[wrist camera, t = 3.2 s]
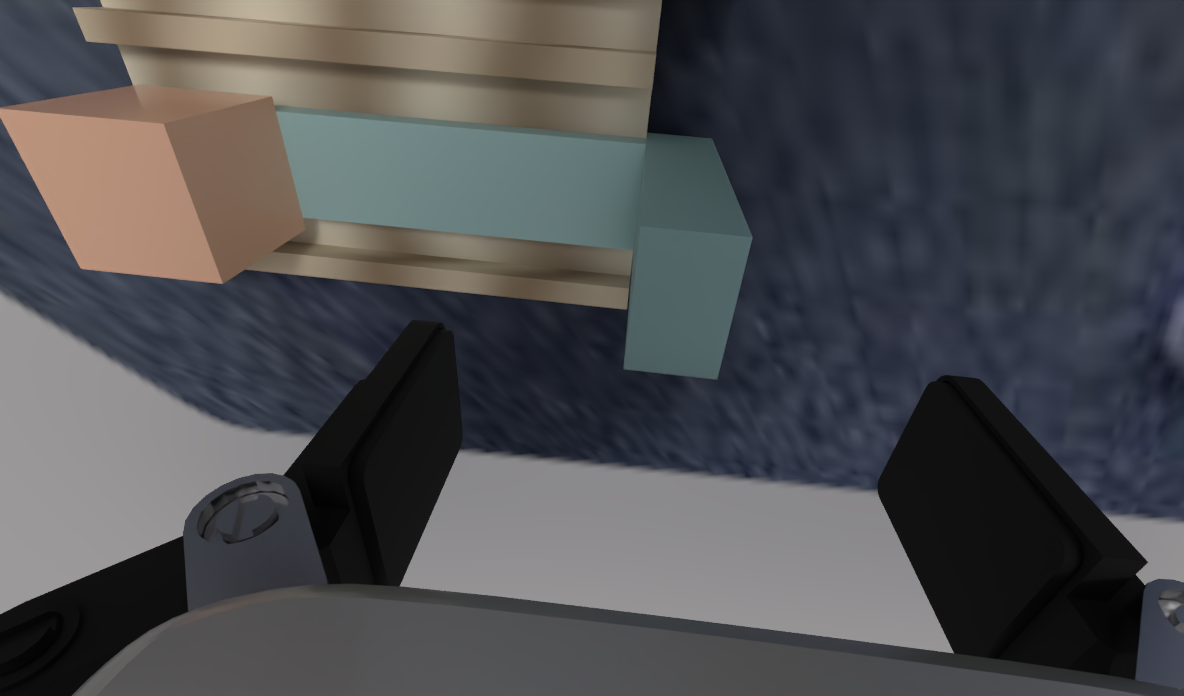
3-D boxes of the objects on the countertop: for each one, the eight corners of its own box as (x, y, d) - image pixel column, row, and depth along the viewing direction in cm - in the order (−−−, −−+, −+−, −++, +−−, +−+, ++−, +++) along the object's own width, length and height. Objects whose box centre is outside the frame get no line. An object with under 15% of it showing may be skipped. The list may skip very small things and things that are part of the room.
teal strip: (712, 138, 20) (752, 237, 12) (693, 237, 22) (716, 379, 14) (149, 88, 21) (-180, 146, 13) (186, 187, 23) (-73, 292, 15)
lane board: (697, -315, 14) (704, -361, 12) (628, 286, 24) (626, 309, 22) (-4, -348, 15) (-95, -396, 13) (212, 243, 25) (177, 262, 23)
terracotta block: (271, 96, 19) (163, 123, 15) (306, 229, 22) (223, 284, 17) (139, 84, 19) (-5, 108, 15) (189, 217, 22) (81, 268, 18)
